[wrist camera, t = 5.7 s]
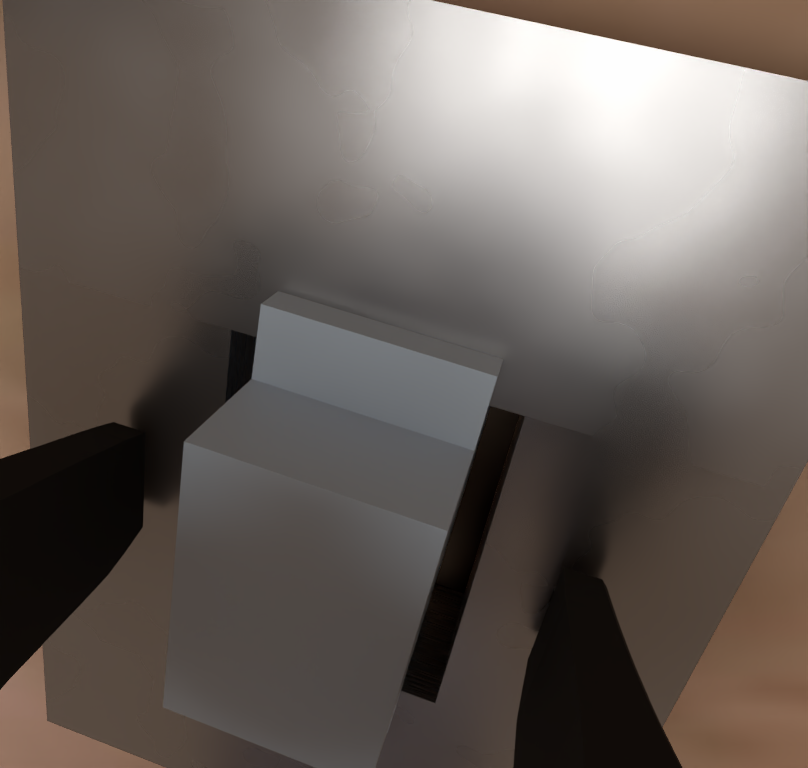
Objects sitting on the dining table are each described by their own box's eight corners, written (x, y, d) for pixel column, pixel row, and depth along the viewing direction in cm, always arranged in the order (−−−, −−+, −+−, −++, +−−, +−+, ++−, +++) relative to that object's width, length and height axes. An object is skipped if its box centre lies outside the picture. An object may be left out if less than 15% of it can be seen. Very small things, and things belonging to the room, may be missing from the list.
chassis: (564, 789, 17) (556, 921, 15) (124, 628, 19) (47, 720, 17) (893, 102, 10) (992, 121, 8) (133, -62, 12) (-4, -94, 9)
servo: (428, 604, 16) (352, 841, 11) (289, 555, 17) (158, 763, 12) (525, 294, 13) (473, 446, 8) (344, 242, 13) (191, 355, 8)
